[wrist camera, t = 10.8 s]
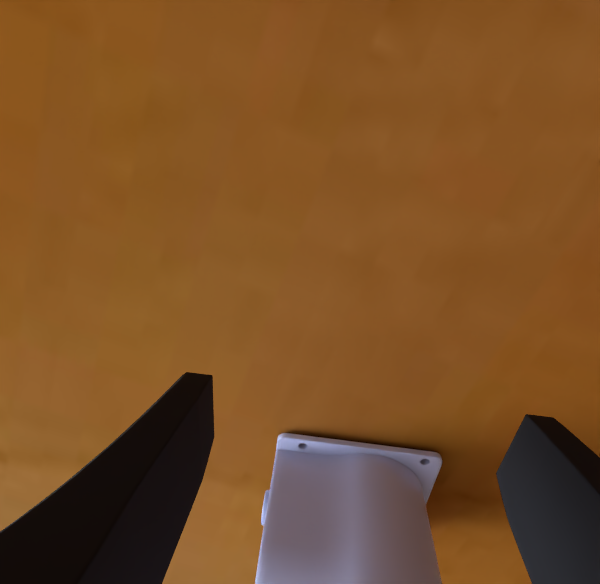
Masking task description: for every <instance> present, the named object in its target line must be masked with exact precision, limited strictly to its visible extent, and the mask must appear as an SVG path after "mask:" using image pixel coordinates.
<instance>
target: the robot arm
mask: <svg viewBox="0 0 600 584" xmlns="http://www.w3.org/2000/svg"><path fill="white" fill-rule="evenodd" d="M213 439H214V414H213V380H212V375H205V374H197V373H189V372H186V373H185V374H184V375H182V376H181V377H180V378H179V379H178V380H177V381H176V382H175V383H174V384H173V385H172V386H171V387H170V388H169V389H168V390H167V391H166V392H165V393H164V394H163V395H162V396H161V397H160V398H159V399H158V400H157V401H156V402H155V403H154V404H153V405H152V406H151V407H150V408H149V409H148V410H147V411H146V412H145V413H144V414H143V415H142V416H141V417H140V418H139V419H137V420H136V421H135V422H134V423H133V424H132V425H131V426H130V427H129V428H128V429H127V430H126V431H125V432H123V433H122V434H121V435H120V436H119V437H118V438H117V439H116V440H115V441H114V442H113V443H111V444H110V445H109V446H108V447H107V448H106V449H105V450H103V451H102V452H101V453H100V454H99V455H98V456H96V457H95V458H94V459H93V460H92V461H90V462H89V463H88V464H87V465H86V466H85V467H83V468H82V469H81V470H80V471H79V472H77V473H76V474H75V475H74V476H73V477H72V478H70V479H69V480H68V481H67V482H65V483H64V484H63V485H62V486H60V487H59V488H58V489H57V490H55V491H54V492H53V493H52V494H50V495H49V496H48V497H46V498H45V499H44V500H42V501H41V502H40V503H39V504H37V505H36V506H35V507H33V508H32V509H31V510H29V511H28V512H27V513H25V514H24V515H23V516H21V517H20V518H19V519H17V520H16V521H14V522H13V523H12V524H10V525H9V526H8V527H6V528H5V529H3V530H2V531H0V584H162V582H163V579H164V577H165V574H166V572H167V569H168V567H169V564H170V561H171V559H172V556H173V554H174V551H175V549H176V546H177V544H178V541H179V539H180V536H181V534H182V531H183V528H184V526H185V523H186V521H187V518H188V516H189V513H190V511H191V508H192V505H193V503H194V500H195V498H196V495H197V493H198V490H199V487H200V485H201V482H202V479H203V476H204V472H205V469H206V465H207V462H208V458H209V454H210V451H211V447H212V443H213ZM302 443H305V444H302ZM441 465H442V458H441V455H440V454H439V453H436V452H431V451H424V450H416V449H408V448H400V447H392V446H384V445H377V444H369V443H361V442H353V441H345V440H338V439H330V438H322V437H314V436H306V435H298V434H291V433H282V434H280V435H279V436H278V440H277V450H276V456H275V462H274V468H273V474H272V480H271V486H270V490H266V492H265V497H264V503H263V510H262V518H261V524H262V525H264V529H263V535H262V541H261V547H260V553H259V560H258V566H257V573H256V580H255V584H442V581H441V576H440V571H439V567H438V562H437V557H436V552H435V547H434V543H433V538H432V533H431V528H430V523H429V519H428V514H427V509H426V503H427V501H428V498H429V496H430V493H431V491H432V488H433V485H434V483H435V480H436V478H437V475H438V473H439V470H440V468H441ZM496 475H497V479H498V483H499V487H500V492H501V496H502V500H503V503H504V507H505V511H506V514H507V518H508V521H509V524H510V527H511V530H512V532H513V535H514V538H515V540H516V543H517V545H518V548H519V551H520V553H521V556H522V559H523V561H524V564H525V566H526V569H527V571H528V574H529V577H530V579H531V582H532V584H600V458H599V457H598V456H597V455H596V454H595V453H594V452H593V451H592V450H590V449H589V448H588V447H587V446H586V445H585V444H584V443H583V442H581V441H580V440H579V439H578V438H577V437H576V436H575V435H573V434H572V433H571V432H570V431H569V430H568V429H567V428H565V427H564V426H563V425H562V424H561V423H559V422H558V421H557V420H556V419H554V418H552V417H544V416H536V415H528V414H526V415H525V417H524V419H523V421H522V423H521V425H520V427H519V429H518V431H517V433H516V435H515V437H514V439H513V441H512V443H511V445H510V447H509V449H508V451H507V453H506V455H505V457H504V459H503V461H502V463H501V465H500V467H499V469H498V471H497V473H496Z"/></svg>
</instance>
